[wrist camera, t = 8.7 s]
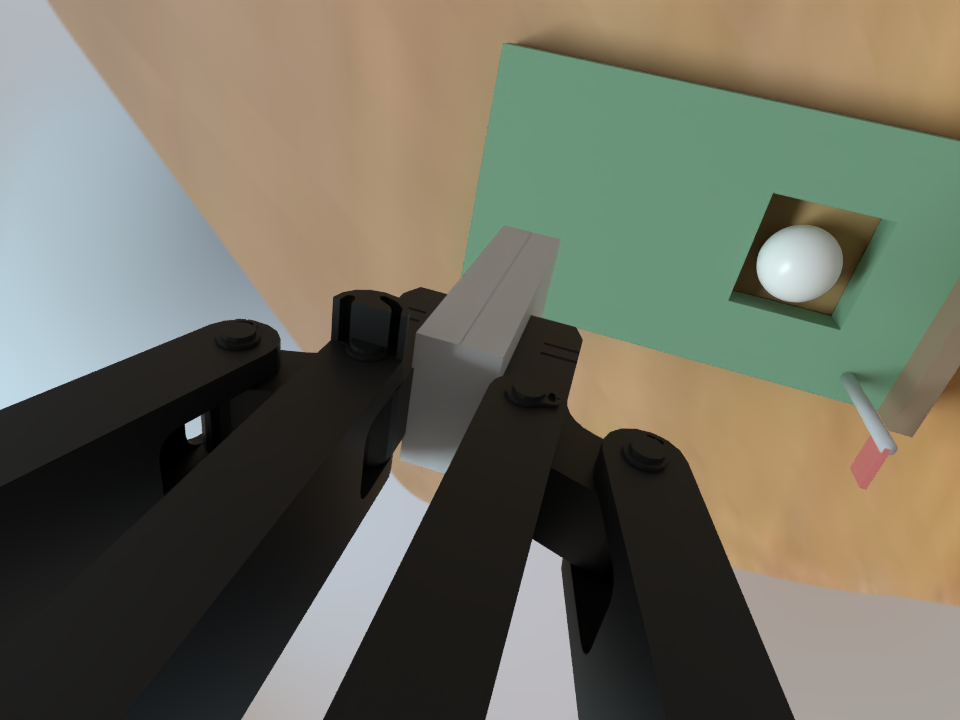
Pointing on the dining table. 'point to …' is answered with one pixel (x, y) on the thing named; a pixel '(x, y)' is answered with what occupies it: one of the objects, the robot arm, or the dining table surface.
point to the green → (728, 228)
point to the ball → (799, 263)
